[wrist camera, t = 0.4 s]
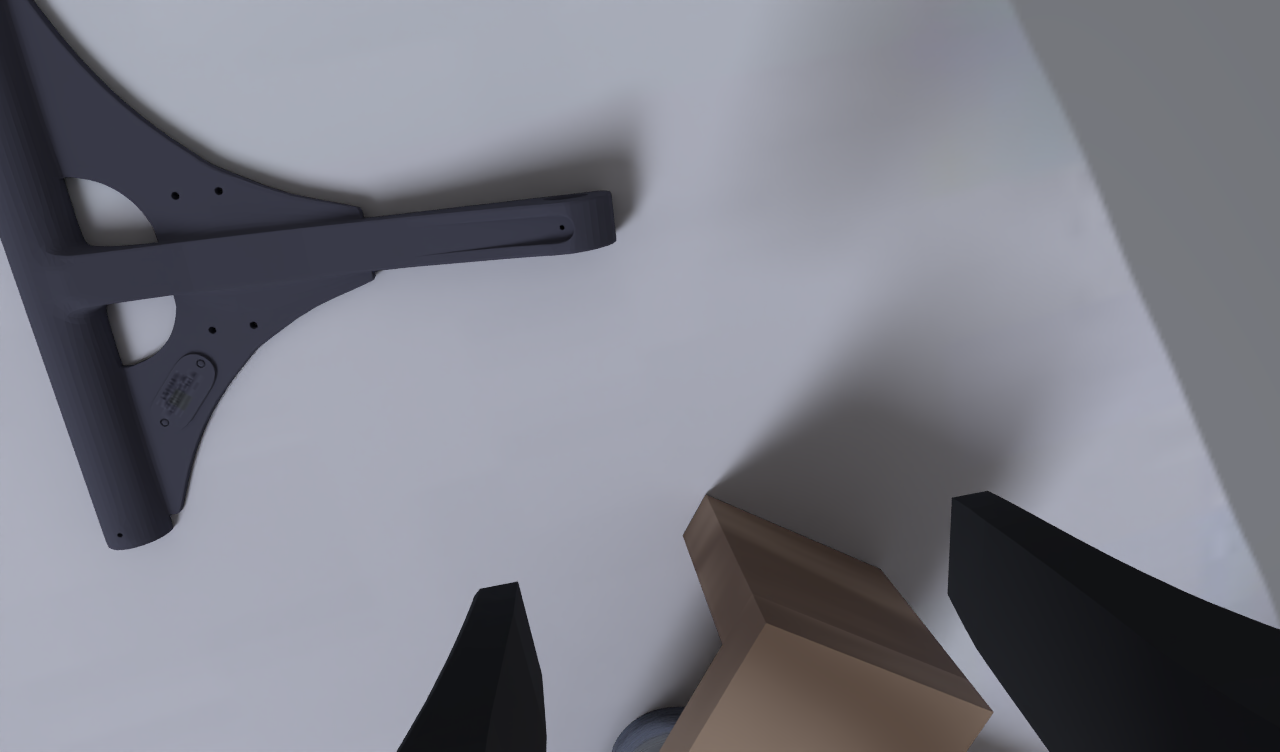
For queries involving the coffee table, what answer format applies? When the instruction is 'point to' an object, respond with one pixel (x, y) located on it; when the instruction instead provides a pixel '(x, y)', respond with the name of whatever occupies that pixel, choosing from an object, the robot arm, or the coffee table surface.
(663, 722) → the steel puck
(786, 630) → the walnut shelf
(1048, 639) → the robot arm
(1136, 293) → the coffee table surface
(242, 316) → the bracket
